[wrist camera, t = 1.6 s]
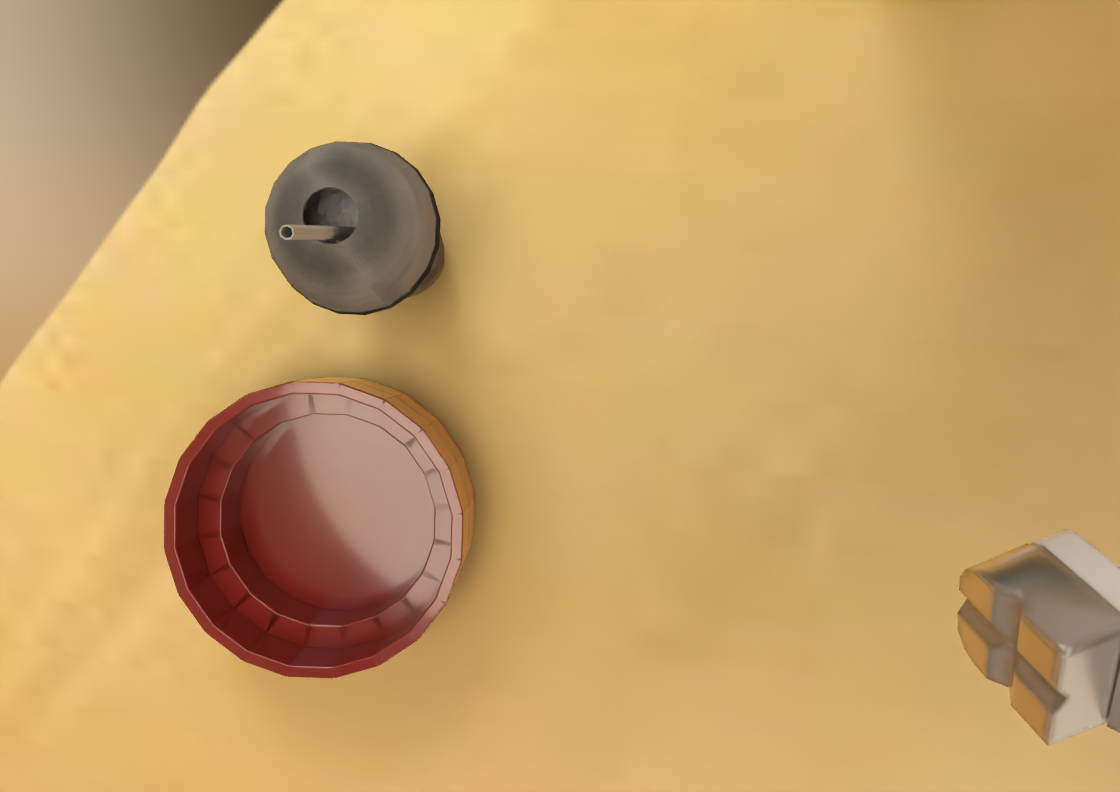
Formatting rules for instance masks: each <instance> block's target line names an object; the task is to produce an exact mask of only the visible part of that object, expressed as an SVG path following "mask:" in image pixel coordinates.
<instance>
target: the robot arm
mask: <svg viewBox="0 0 1120 792" xmlns="http://www.w3.org/2000/svg"><path fill="white" fill-rule="evenodd" d="M959 590H960V591H961V592H962V593H963V594H964V595H965V597H966V598H967V600H966V601H965V603H964V604H963V606H962V607H961V609H960V610H959V612H958V632H959V635H960V638H961V640H962V643H963V646H964V648H965V650H966V652H967V653H968V655H969V656H970V658H971V660H972V661H973V663H974V664H975V665H976V666H977V668H978V669H979V670H980V671H981V672H982V673H983V674H984V676H985V677H986V678H987V679H989V680H992V681H994V682H997V683H999V684H1002V685H1004V686H1007V687H1009V688H1010V698H1011V706H1012V707H1013V708H1014V709H1015V710H1016V711H1017V712H1018V713H1019V714H1020V716H1021V717H1022V718H1023V719H1024V720H1025V721H1026V722H1027V723H1028V724H1029V725H1030V727H1031V728H1032V729H1033V730H1034V731H1035V732H1036V733H1037V734H1038V735H1039V736H1040V738H1041V739H1042V740H1043V741H1044V742H1045V743H1046V744H1047V745H1048V746H1049V745H1052V744H1054V743H1057V742H1059V741H1062V740H1064V739H1067V738H1069V737H1072V736H1074V735H1077V734H1079V733H1082V732H1084V731H1087V730H1089V729H1092V728H1094V727H1097V726H1099V725H1102V724H1104V723H1107V722H1108V724H1107V727H1109V728H1111V729H1113V730H1115V731H1117V732H1119V733H1120V567H1119V566H1117V565H1116V564H1115V563H1114V562H1112V561H1111V560H1110V559H1109V558H1107V557H1106V556H1105V555H1104V554H1102V553H1101V552H1100V551H1099V550H1097V549H1096V548H1095V547H1094V546H1092V545H1091V544H1090V543H1089V542H1087V541H1086V540H1085V539H1084V538H1082V537H1081V536H1080V535H1078V534H1077V533H1075V532H1072V531H1069V530H1063V531H1059V532H1057V533H1054V534H1052V535H1050V536H1047V537H1045V538H1043V539H1040V540H1038V541H1036V542H1033V543H1031V544H1025V545H1022V546H1020V547H1018V548H1015V549H1013V550H1011V551H1008V552H1006V553H1003V554H1001V555H999V556H996V557H994V558H991V559H989V560H987V561H984V562H982V563H980V564H977V565H975V566H972V567H970V568H968V569H965V571H964V572H963V573H962V575H961V576H960V585H959Z"/></svg>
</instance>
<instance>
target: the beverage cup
mask: <svg viewBox="0 0 1120 792" xmlns="http://www.w3.org/2000/svg"><path fill="white" fill-rule="evenodd" d="M265 235H266V239H267V242H268V246H269V249H270V252H271V256H272V259H273V260H274V262H275V263H276V265H277V266H278V268H279V269H280V270H281V272H282V273H283V275H284V276H285V278H286V279H287V281H288V282H289V283H290V285H291V286H292V287H293V288H294V289H295V290H296V291H298V292H299V293H300V294H301V295H303V296H304V297H305V298H306V299H308V300H309V301H310V302H312V303H313V304H315V305H317V306H320V307H322V308H325V309H328V310H330V311H333V312H336V313H338V314H357V315H367V314H371V313H374V312H378V311H382V310H385V309H389V308H392V307H393V306H395V305H396V304H398V303H399V302H401V301H402V300H404V299H405V298H407V297H410V296H413V295H417V294H419V293H421V292H422V291H424V290H425V289H427V288H428V287H430V286H431V285H432V284H433V283H434V282H435V280H436V279H437V278H438V276H439V275H440V272H441V269H442V267H443V264H444V245H443V242H442V238H441V234H440V216H439V212H438V209H437V205H436V202H435V198H434V194H433V192H432V191H431V189H430V188H429V186H428V184H427V183H426V181H425V180H424V178H423V177H422V175H421V174H420V172H419V171H418V170H417V169H416V168H415V167H414V166H412V165H411V164H410V163H409V162H407V161H406V160H405V159H404V158H402V157H401V156H400V155H399V154H397V153H396V152H393V151H390V150H388V149H385V148H383V147H380V146H377V145H375V144H372V143H358V142H332V143H329V144H325V145H321V146H318V147H314V148H311V149H309V150H308V151H306V152H305V153H303V154H302V155H301V156H299V157H298V158H296V159H295V160H293V161H292V162H290V163H289V164H288V166H287V167H286V168H285V170H284V171H283V172H282V173H281V175H280V176H279V177H278V179H277V180H276V181H275V183H274V185H273V188H272V191H271V193H270V196H269V199H268V202H267V205H266V210H265Z"/></svg>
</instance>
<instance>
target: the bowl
mask: <svg viewBox="0 0 1120 792" xmlns="http://www.w3.org/2000/svg"><path fill="white" fill-rule="evenodd" d="M473 523H474V492H473V488H472V485H471V481H470V478H469V475H468V471H467V468H466V464H465V461H464V458H463V455H462V453H461V451H460V450H459V449H458V447H457V446H456V444H455V443H454V441H453V440H452V438H451V437H450V435H449V434H448V432H447V431H446V430H445V428H444V427H443V425H442V424H441V422H440V421H439V420H438V419H437V418H436V417H435V416H434V415H432V414H431V413H430V412H428V411H427V410H426V409H425V408H423V407H422V406H421V405H419V404H418V403H417V402H415V401H414V400H413V399H412V398H410V397H409V396H408V395H406V394H404V393H403V392H401V391H398V390H395V389H392V388H390V387H387V386H384V385H381V384H379V383H376V382H373V381H370V380H368V379H364V378H340V377H318V378H311V379H305V380H298V381H291V382H288V383H284V384H281V385H277V386H274V387H270V388H267V389H263V390H260V391H256V392H253V393H250V394H248V395H245V396H244V397H242V398H241V399H239V400H238V401H236V402H235V403H233V404H232V405H230V406H229V407H227V408H226V409H225V410H223V411H222V412H220V413H219V414H217V415H216V416H214V417H213V418H211V419H210V420H209V421H208V422H207V423H206V424H205V425H204V427H203V428H202V429H201V431H200V432H199V433H198V435H197V436H196V437H195V439H194V440H193V441H192V442H191V444H190V445H189V446H188V448H187V449H186V450H185V452H184V453H183V454H182V456H181V457H180V459H179V461H178V464H177V467H176V470H175V473H174V476H173V479H172V482H171V485H170V488H169V491H168V494H167V497H166V500H165V504H164V549H165V554H166V557H167V560H168V563H169V566H170V570H171V573H172V576H173V579H174V582H175V585H176V588H177V592H178V593H179V596H180V597H181V599H182V600H183V601H184V603H185V604H186V606H187V607H188V608H189V610H190V611H191V613H192V614H193V616H194V617H195V618H196V620H197V621H198V623H199V624H200V625H201V627H202V628H203V630H204V631H205V632H206V633H207V634H208V635H210V636H211V637H212V638H214V639H215V640H216V641H218V642H219V643H220V644H221V645H223V646H224V647H225V648H227V649H228V650H229V651H231V652H232V653H233V654H235V655H236V656H237V657H239V658H240V659H241V660H243V661H245V662H247V663H250V664H253V665H256V666H259V667H261V668H264V669H267V670H270V671H273V672H275V673H278V674H281V675H284V676H288V677H313V678H337V677H341V676H344V675H348V674H351V673H355V672H358V671H362V670H366V669H369V668H373V667H376V666H379V665H381V664H383V663H384V662H386V661H387V660H389V659H390V658H392V657H393V656H395V655H396V654H398V653H399V652H401V651H402V650H404V649H405V648H407V647H408V646H410V645H411V644H413V643H414V642H416V641H417V639H419V638H420V637H421V635H422V634H423V633H424V632H425V630H426V629H427V628H428V627H429V625H430V624H431V623H432V621H433V620H434V619H435V618H436V616H437V615H438V614H439V613H440V611H441V610H442V609H443V607H444V606H445V605H446V603H447V601H448V599H449V597H450V594H451V592H452V590H453V588H454V585H455V583H456V581H457V579H458V576H459V574H460V571H461V569H462V566H463V563H464V560H465V558H466V555H467V552H468V549H469V547H470V544H471V541H472V538H473Z"/></svg>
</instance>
